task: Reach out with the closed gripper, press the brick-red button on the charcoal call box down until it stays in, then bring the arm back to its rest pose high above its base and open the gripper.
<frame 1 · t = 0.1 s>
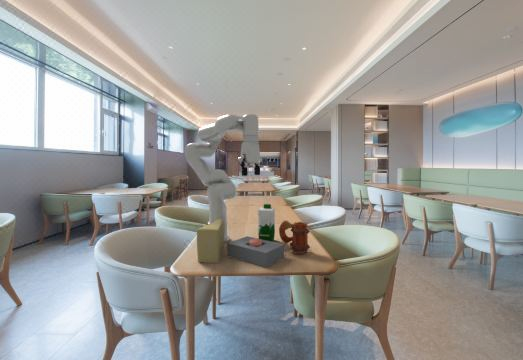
hand: (251, 175, 127), 37 cm above the table, tool pointing down, fingers open, 9 cm apart
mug: (294, 252, 124), on the table
cheese: (215, 254, 121), on the table
milk carton: (266, 241, 141), on the table
call button: (255, 243, 117), point 6 cm above the table, slide at 0.0 cm
call box: (255, 256, 118), on the table
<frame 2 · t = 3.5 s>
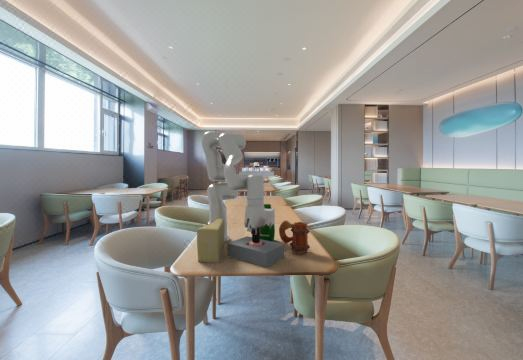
hand: (255, 242, 117), 7 cm above the table, tool pointing down, fingers closed
call button: (255, 245, 117), point 5 cm above the table, slide at 0.8 cm
everything else where it was.
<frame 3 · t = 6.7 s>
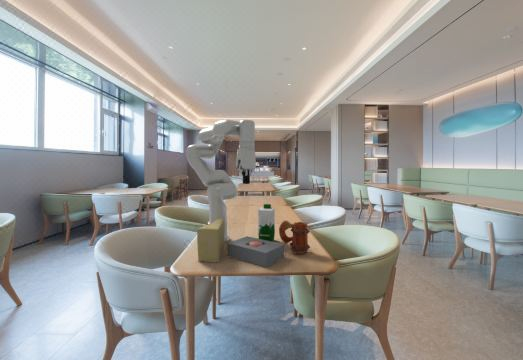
hand: (246, 183, 127), 33 cm above the table, tool pointing down, fingers closed
call button: (255, 246, 117), point 5 cm above the table, slide at 1.2 cm
everything else where it was.
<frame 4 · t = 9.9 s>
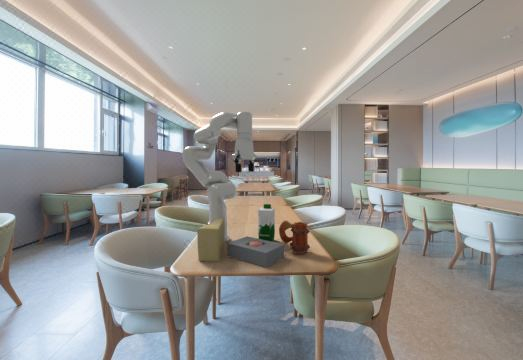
hand: (244, 171, 130), 38 cm above the table, tool pointing down, fingers open, 9 cm apart
at the end: call button slide at 1.2 cm; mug moved 0.2 cm from its start; milk carton moved 0.2 cm from its start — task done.
